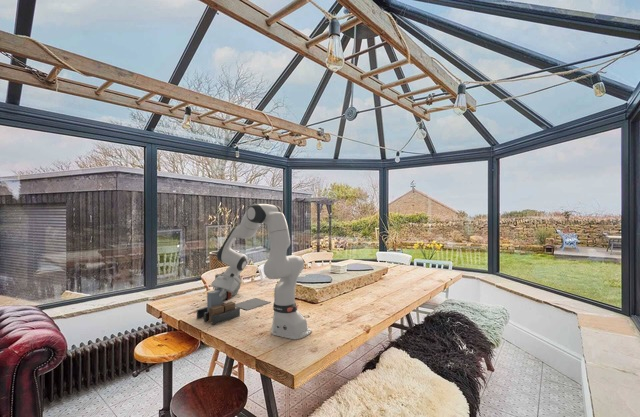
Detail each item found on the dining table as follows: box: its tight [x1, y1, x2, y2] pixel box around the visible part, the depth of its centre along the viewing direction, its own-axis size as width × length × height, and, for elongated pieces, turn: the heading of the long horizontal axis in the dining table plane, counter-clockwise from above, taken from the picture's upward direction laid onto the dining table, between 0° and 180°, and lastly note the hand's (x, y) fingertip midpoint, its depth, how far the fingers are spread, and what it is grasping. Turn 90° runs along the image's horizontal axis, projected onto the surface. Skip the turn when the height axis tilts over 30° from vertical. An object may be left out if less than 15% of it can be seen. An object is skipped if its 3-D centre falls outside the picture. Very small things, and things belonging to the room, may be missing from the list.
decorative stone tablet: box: [214, 271, 242, 301], centre depth 214 cm, size 19×6×30 cm
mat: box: [235, 297, 272, 311], centre depth 200 cm, size 16×20×1 cm
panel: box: [206, 290, 224, 312], centre depth 177 cm, size 4×8×14 cm, turn 142°
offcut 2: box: [221, 301, 236, 312], centre depth 176 cm, size 4×7×8 cm, turn 142°
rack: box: [196, 301, 241, 326], centre depth 175 cm, size 17×18×5 cm
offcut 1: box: [208, 305, 224, 324], centre depth 170 cm, size 4×7×8 cm, turn 142°
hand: (216, 295), depth 178 cm, fingers closed on panel, 4 cm apart
